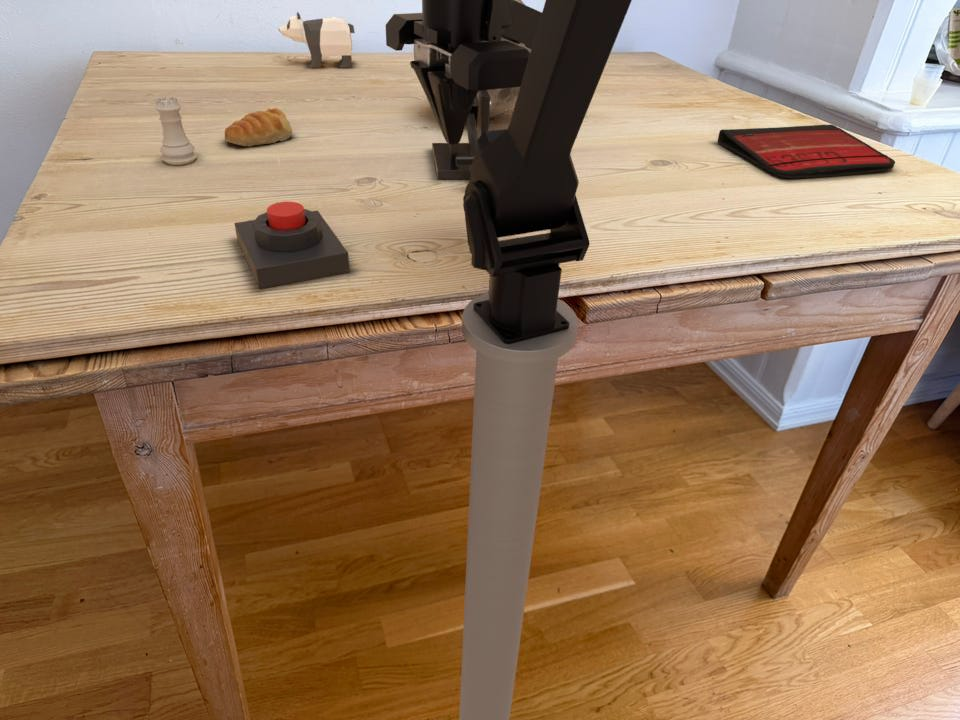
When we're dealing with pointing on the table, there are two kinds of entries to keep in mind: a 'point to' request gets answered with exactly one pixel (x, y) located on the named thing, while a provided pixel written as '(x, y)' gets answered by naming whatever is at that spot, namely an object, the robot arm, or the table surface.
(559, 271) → the robot arm
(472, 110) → the lever
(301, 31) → the giant panda
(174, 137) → the rook chess piece
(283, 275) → the button box
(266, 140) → the pastry
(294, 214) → the button
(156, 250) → the table surface
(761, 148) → the binder
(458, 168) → the bracket
